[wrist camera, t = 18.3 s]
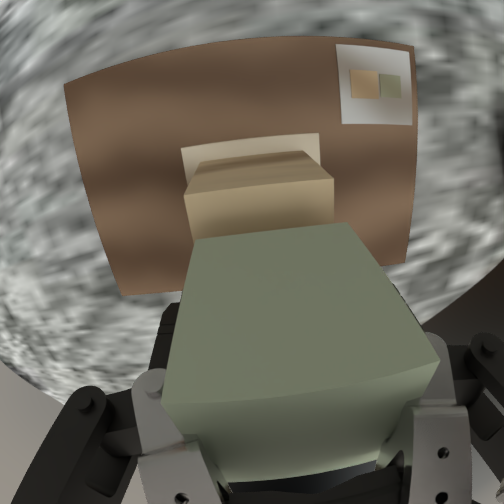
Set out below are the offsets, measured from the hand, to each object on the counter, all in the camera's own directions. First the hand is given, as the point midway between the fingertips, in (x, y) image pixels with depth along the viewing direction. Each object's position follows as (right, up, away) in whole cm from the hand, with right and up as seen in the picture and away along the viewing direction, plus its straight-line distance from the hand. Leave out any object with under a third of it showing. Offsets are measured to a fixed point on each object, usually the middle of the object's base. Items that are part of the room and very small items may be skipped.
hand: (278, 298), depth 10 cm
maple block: (-1, +5, +8) cm, 9 cm away
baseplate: (-1, +7, +8) cm, 11 cm away
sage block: (0, 0, 0) cm, 0 cm away
